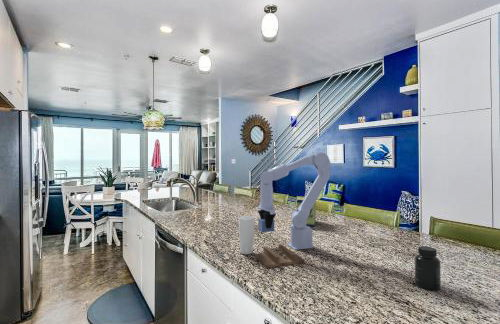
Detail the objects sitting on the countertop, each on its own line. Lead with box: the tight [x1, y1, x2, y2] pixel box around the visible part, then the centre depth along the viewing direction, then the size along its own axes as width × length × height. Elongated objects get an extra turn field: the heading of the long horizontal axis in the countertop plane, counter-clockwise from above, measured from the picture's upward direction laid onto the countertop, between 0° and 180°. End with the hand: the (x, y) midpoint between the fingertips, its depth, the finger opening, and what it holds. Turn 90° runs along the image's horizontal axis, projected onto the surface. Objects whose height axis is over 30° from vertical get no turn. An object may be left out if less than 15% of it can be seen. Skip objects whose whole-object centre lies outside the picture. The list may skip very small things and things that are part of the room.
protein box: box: [296, 195, 317, 228], centre depth 164 cm, size 10×16×16 cm
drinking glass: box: [238, 215, 256, 255], centre depth 113 cm, size 7×7×15 cm
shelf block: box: [257, 218, 275, 233], centre depth 123 cm, size 6×4×5 cm
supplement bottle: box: [414, 245, 442, 291], centre depth 85 cm, size 7×7×12 cm
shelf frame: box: [254, 244, 306, 269], centre depth 106 cm, size 16×12×4 cm
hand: (266, 226), depth 123 cm, fingers closed on shelf block, 4 cm apart
